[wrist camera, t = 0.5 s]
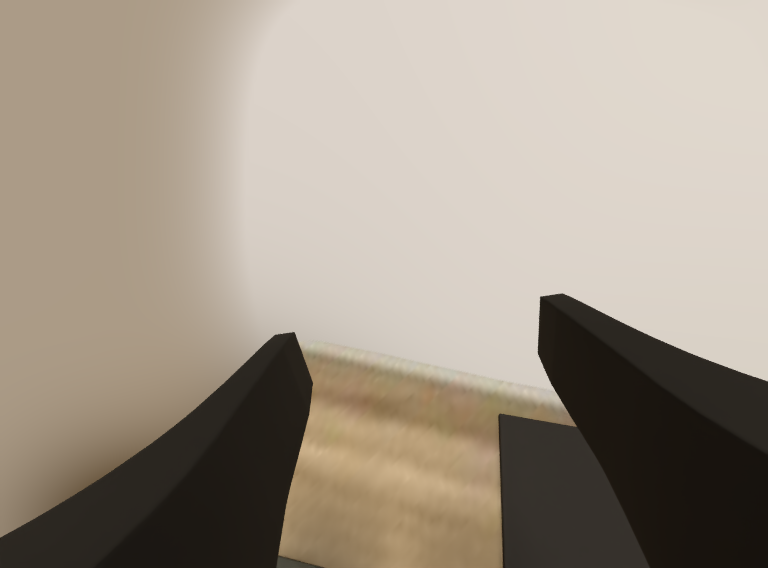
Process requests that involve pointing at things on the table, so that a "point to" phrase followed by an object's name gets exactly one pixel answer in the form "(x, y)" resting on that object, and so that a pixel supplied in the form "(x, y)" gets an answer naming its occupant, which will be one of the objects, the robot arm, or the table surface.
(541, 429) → the mat
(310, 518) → the table surface
